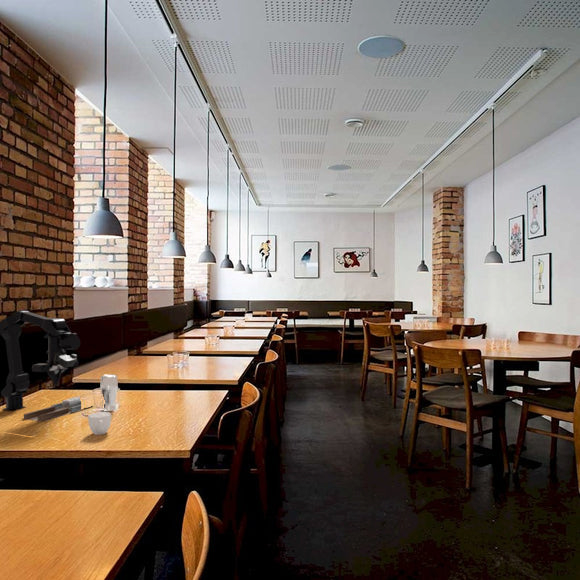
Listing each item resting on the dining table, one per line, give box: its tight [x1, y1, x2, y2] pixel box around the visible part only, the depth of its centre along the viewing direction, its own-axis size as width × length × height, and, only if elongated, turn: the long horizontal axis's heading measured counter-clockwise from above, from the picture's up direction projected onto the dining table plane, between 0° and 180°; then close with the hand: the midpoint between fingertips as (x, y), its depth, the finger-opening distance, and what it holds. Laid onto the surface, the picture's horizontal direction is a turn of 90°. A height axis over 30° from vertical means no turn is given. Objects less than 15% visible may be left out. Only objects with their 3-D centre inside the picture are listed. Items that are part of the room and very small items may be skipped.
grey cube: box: [61, 398, 77, 411], centre depth 205 cm, size 4×4×4 cm
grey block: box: [69, 396, 81, 406], centre depth 209 cm, size 4×4×4 cm
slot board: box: [21, 402, 82, 423], centre depth 200 cm, size 12×26×2 cm, turn 158°
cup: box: [87, 411, 112, 436], centre depth 172 cm, size 8×10×7 cm
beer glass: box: [99, 373, 119, 412], centre depth 205 cm, size 7×7×15 cm
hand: (55, 385), depth 200 cm, fingers closed
